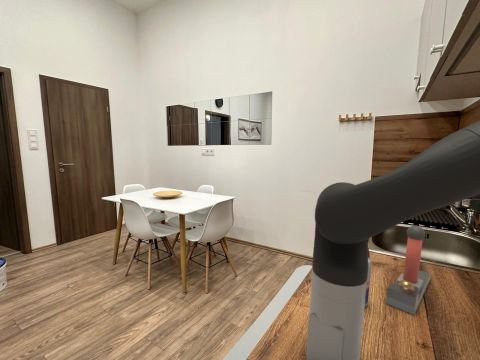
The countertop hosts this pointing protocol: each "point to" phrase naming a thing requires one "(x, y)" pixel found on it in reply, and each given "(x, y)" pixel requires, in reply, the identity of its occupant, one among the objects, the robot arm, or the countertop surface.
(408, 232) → the handle
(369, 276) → the energy drink
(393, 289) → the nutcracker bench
